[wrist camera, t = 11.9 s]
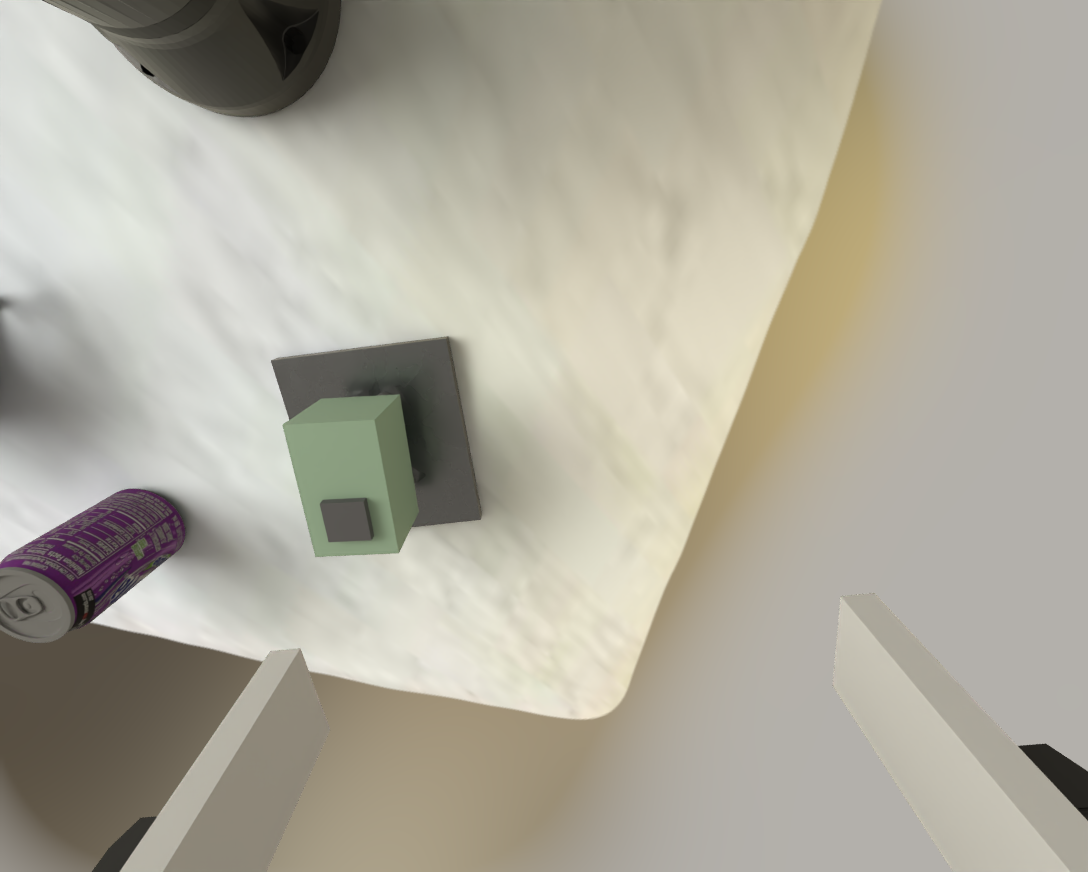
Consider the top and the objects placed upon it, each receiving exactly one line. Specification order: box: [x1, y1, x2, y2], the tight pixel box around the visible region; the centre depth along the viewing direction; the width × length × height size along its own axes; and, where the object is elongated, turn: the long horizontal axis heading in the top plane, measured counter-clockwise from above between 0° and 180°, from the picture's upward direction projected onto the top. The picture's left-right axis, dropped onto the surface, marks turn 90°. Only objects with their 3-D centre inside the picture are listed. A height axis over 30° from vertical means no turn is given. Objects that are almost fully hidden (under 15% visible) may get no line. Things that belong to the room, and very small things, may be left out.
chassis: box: [271, 337, 482, 527], centre depth 42 cm, size 16×14×4 cm
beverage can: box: [0, 489, 185, 643], centre depth 41 cm, size 7×7×12 cm
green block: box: [283, 394, 419, 557], centre depth 37 cm, size 10×6×7 cm, turn 3°
